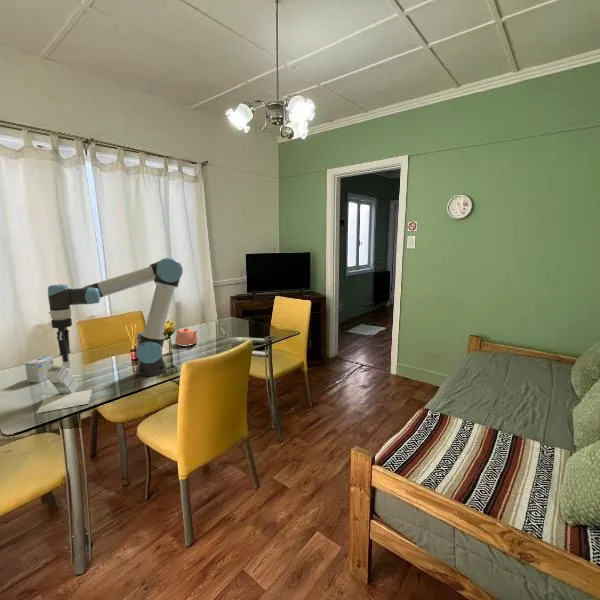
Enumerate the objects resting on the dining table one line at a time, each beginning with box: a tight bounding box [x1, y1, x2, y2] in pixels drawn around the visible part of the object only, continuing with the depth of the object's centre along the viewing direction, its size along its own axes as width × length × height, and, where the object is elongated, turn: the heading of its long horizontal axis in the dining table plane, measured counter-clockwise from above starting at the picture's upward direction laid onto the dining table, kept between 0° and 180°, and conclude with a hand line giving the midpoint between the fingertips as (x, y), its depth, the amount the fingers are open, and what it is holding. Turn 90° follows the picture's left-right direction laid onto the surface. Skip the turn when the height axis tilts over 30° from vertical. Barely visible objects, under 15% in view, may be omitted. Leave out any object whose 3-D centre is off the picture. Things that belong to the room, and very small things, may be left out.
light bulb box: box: [24, 356, 55, 384], centre depth 169 cm, size 11×7×11 cm, turn 178°
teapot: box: [174, 327, 199, 345], centre depth 230 cm, size 22×15×12 cm
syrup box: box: [46, 365, 79, 395], centre depth 149 cm, size 6×6×14 cm
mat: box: [35, 389, 93, 415], centre depth 144 cm, size 18×16×1 cm
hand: (66, 367), depth 151 cm, fingers closed
